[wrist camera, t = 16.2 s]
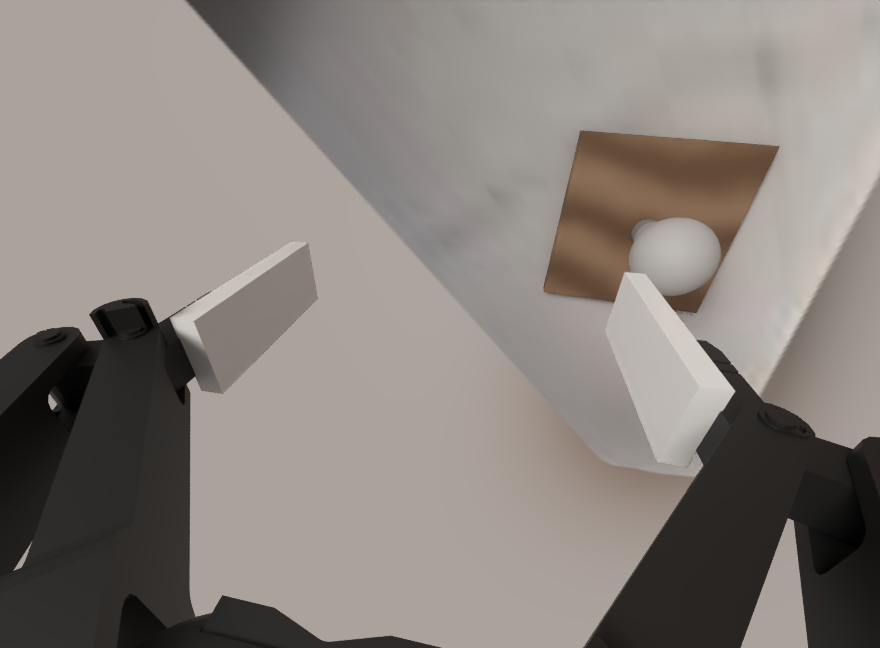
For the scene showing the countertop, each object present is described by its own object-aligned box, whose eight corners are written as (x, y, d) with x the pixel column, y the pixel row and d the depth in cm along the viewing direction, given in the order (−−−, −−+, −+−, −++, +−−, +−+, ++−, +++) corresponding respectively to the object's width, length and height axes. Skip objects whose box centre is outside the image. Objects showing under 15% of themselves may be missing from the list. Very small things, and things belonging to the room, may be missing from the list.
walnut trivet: (580, 130, 33) (582, 131, 32) (771, 145, 31) (779, 146, 30) (543, 287, 41) (544, 291, 40) (691, 307, 39) (696, 312, 38)
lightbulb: (693, 210, 33) (759, 247, 24) (653, 267, 37) (698, 320, 27) (631, 188, 33) (674, 216, 24) (597, 247, 37) (623, 292, 27)
